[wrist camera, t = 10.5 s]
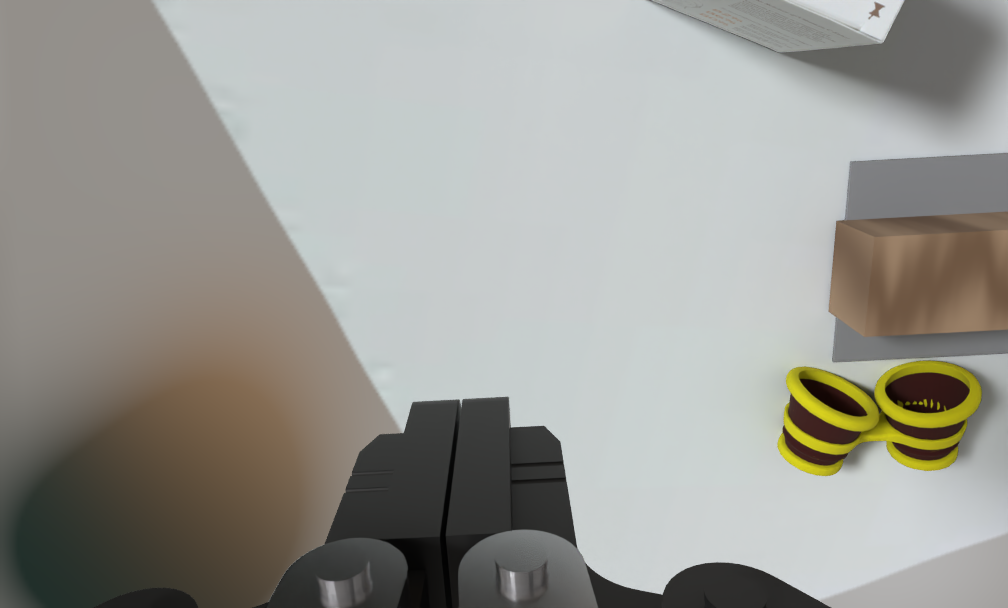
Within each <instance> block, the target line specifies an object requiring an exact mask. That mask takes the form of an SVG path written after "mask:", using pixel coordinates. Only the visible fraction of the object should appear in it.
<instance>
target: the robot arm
mask: <svg viewBox="0 0 1008 608" xmlns="http://www.w3.org/2000/svg"><path fill="white" fill-rule="evenodd" d="M94 608H198V606H197V604H196V602H195V600H194V599H193V598H192V597H191V596H190V595H188V594H186V593H185V592H183V591H180V590H176V589H171V588H150V589H143V590H138V591H134V592H130V593H127V594H123V595H120V596H117V597H115V598H113V599H110V600H108V601H106V602H104V603H102V604H100V605H98V606H96V607H94ZM253 608H831V607H829V606H827V605H825V604H823V603H822V602H820V601H818V600H816V599H814V598H812V597H811V596H809V595H807V594H805V593H803V592H802V591H800V590H798V589H796V588H794V587H792V586H791V585H789V584H787V583H785V582H783V581H781V580H780V579H778V578H776V577H774V576H772V575H770V574H768V573H766V572H764V571H761V570H758V569H755V568H752V567H749V566H744V565H740V564H733V563H717V562H716V563H705V564H700V565H696V566H693V567H690V568H687V569H685V570H683V571H681V572H680V573H678V574H677V575H675V576H674V577H673V578H672V579H671V580H670V581H669V583H668V584H667V585H666V587H665V590H664V592H663V595H661V594H656V593H650V592H645V591H640V590H635V589H631V588H627V587H624V586H621V585H618V584H615V583H613V582H611V581H609V580H607V579H605V578H603V577H601V576H600V575H598V574H597V573H595V572H594V571H593V570H592V569H591V568H590V567H589V566H588V565H587V564H586V563H585V561H584V559H583V556H582V555H581V553H580V552H579V550H578V548H577V544H576V538H575V532H574V525H573V519H572V513H571V506H570V500H569V494H568V487H567V482H566V475H565V469H564V464H563V456H562V450H561V443H560V441H559V440H558V439H557V438H556V437H555V436H554V435H553V434H552V433H551V432H550V431H549V430H548V429H547V428H546V427H545V426H532V427H513V428H511V424H510V408H509V397H495V398H476V399H463V401H462V408H461V404H460V400H441V401H422V402H413V403H412V406H411V409H410V413H409V417H408V420H407V424H406V427H405V431H404V433H400V434H381V435H379V436H377V437H376V438H375V439H374V440H373V441H372V442H371V443H370V444H368V445H367V446H366V447H365V448H364V449H363V450H362V451H360V453H359V455H358V458H357V461H356V463H355V466H354V468H353V471H352V476H350V479H349V482H348V484H347V487H346V493H344V495H343V497H342V500H341V503H340V505H339V508H338V510H337V513H336V515H335V518H334V521H333V523H332V526H331V529H330V531H329V534H328V536H327V539H326V542H325V544H324V545H322V546H320V547H317V548H315V549H313V550H311V551H309V552H308V553H306V554H305V555H303V556H301V557H300V558H299V559H298V560H296V561H295V562H294V563H293V564H292V565H291V566H290V567H289V568H288V569H287V570H286V572H285V574H284V575H283V576H282V578H281V580H280V582H279V583H278V585H277V587H276V589H275V591H274V593H273V594H272V596H271V598H270V600H269V602H267V603H265V604H262V605H259V606H256V607H253Z"/></svg>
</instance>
